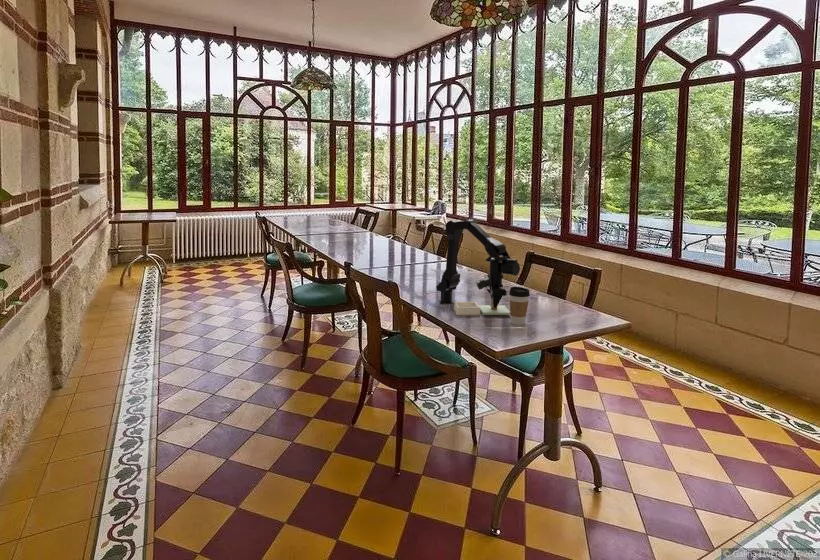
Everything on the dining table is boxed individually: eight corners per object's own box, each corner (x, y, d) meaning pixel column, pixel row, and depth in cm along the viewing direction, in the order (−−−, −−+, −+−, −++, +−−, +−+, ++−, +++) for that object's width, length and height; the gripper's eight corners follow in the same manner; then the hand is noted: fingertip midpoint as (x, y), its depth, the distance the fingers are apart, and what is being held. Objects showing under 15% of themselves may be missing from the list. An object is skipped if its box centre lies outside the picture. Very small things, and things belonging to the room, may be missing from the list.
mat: (478, 310, 242) (478, 309, 242) (504, 310, 243) (504, 309, 243) (482, 317, 231) (482, 316, 231) (510, 317, 231) (510, 316, 231)
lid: (478, 307, 242) (478, 295, 241) (504, 307, 243) (505, 295, 242) (483, 314, 230) (483, 302, 229) (510, 314, 231) (511, 302, 230)
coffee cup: (515, 319, 228) (517, 285, 225) (532, 323, 223) (534, 288, 219) (503, 323, 223) (505, 288, 220) (520, 327, 217) (522, 291, 214)
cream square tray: (454, 310, 242) (454, 301, 241) (475, 310, 242) (476, 301, 242) (457, 316, 232) (457, 307, 231) (479, 316, 233) (480, 307, 232)
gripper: (474, 268, 242) (472, 301, 245) (481, 276, 223) (479, 312, 227) (498, 268, 242) (496, 301, 245) (507, 276, 224) (505, 312, 227)
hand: (494, 306), depth 236 cm, fingers closed on lid, 3 cm apart
